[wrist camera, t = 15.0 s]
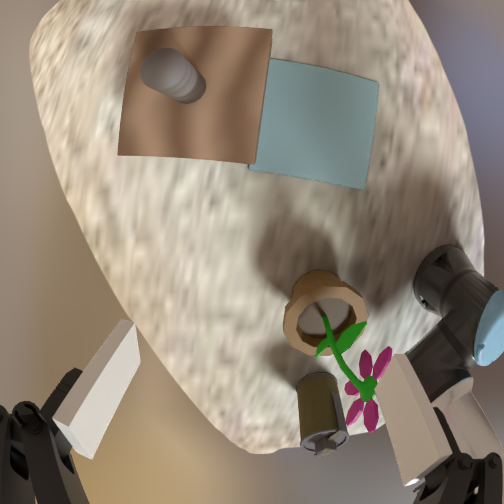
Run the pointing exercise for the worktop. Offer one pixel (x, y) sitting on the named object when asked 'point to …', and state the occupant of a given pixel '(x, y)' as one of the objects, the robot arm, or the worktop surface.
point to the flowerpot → (335, 334)
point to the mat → (317, 124)
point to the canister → (320, 414)
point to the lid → (196, 93)
